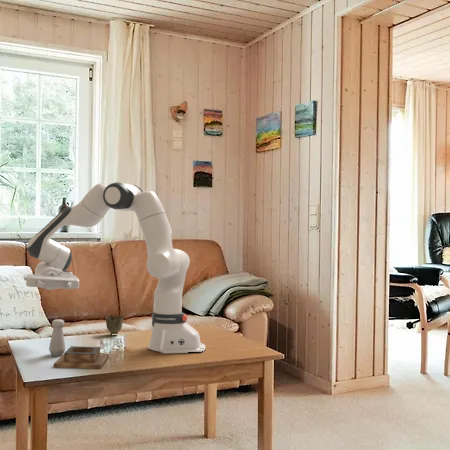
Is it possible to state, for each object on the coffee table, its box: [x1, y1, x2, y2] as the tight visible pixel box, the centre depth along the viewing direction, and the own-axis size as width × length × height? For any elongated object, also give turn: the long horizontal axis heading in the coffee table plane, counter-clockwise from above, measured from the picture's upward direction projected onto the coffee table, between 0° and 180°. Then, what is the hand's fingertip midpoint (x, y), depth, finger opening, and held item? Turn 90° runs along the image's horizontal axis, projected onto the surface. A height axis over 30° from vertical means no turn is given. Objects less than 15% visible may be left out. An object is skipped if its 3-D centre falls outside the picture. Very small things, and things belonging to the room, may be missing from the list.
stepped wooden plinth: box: [53, 345, 110, 370], centre depth 205 cm, size 16×16×4 cm
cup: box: [105, 315, 124, 336], centre depth 252 cm, size 8×7×8 cm
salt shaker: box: [48, 318, 66, 357], centre depth 214 cm, size 6×6×13 cm
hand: (55, 286), depth 224 cm, fingers open, 8 cm apart
